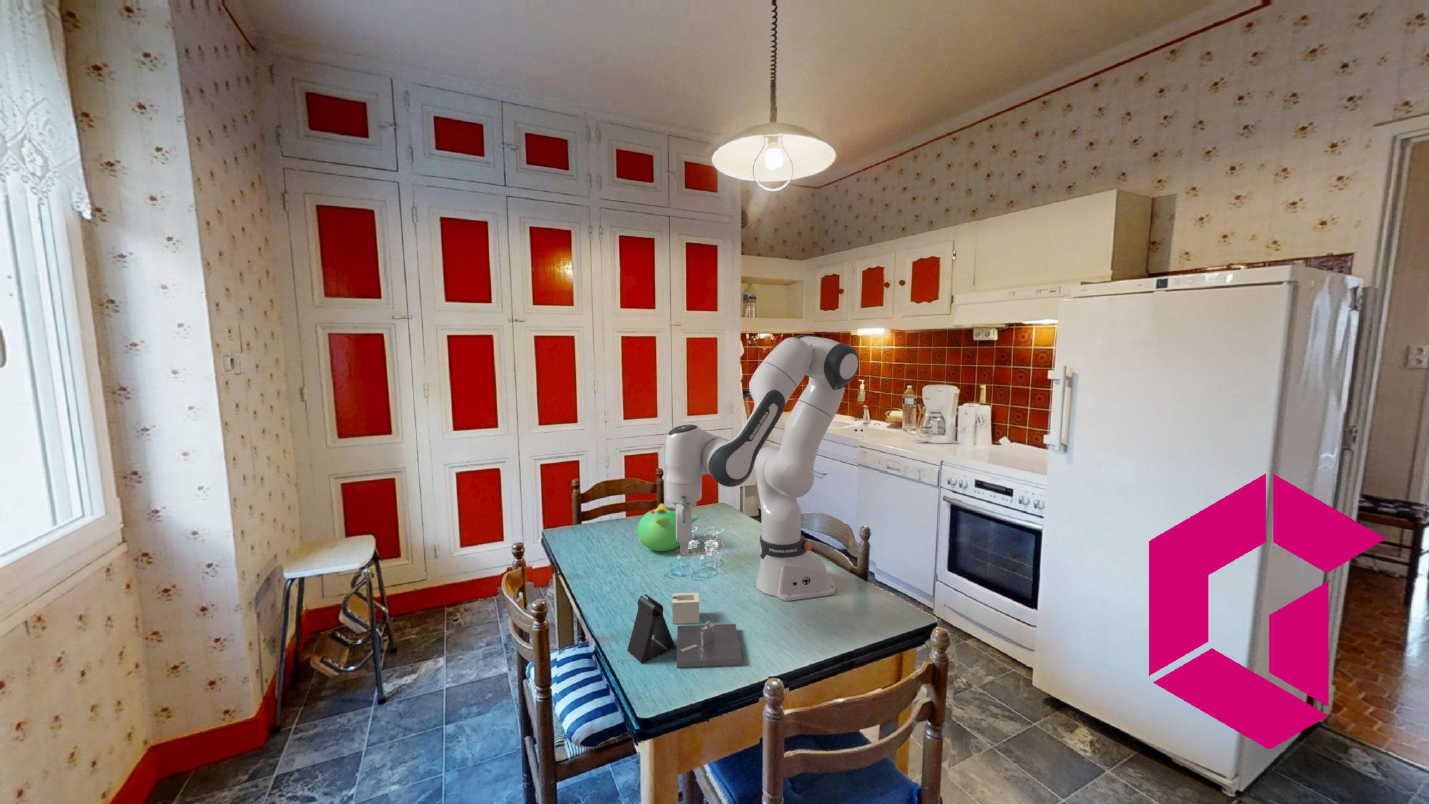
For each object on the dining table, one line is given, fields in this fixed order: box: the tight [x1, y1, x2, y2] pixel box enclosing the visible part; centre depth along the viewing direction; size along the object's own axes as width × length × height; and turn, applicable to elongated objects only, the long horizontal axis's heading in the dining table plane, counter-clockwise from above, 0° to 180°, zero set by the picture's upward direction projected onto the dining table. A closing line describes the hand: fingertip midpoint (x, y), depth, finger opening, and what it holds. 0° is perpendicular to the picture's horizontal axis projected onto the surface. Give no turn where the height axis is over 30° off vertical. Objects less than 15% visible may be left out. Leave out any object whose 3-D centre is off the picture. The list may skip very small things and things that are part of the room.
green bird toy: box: [637, 503, 699, 552], centre depth 174 cm, size 18×17×15 cm
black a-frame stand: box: [626, 593, 676, 664], centre depth 117 cm, size 9×6×12 cm, turn 129°
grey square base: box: [676, 620, 743, 669], centre depth 118 cm, size 14×14×6 cm
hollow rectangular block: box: [671, 592, 700, 625], centre depth 130 cm, size 7×5×6 cm
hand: (684, 545), depth 128 cm, fingers open, 8 cm apart
